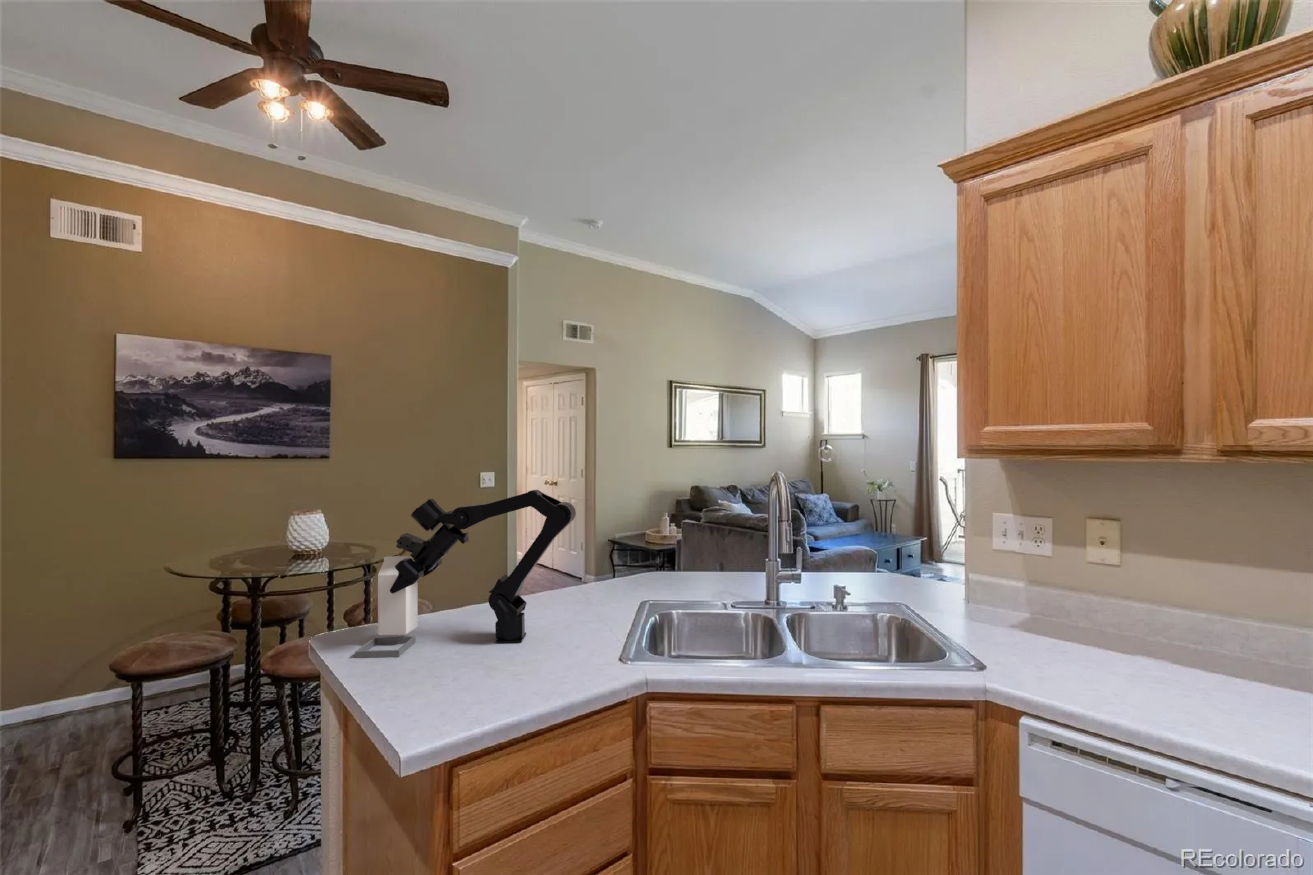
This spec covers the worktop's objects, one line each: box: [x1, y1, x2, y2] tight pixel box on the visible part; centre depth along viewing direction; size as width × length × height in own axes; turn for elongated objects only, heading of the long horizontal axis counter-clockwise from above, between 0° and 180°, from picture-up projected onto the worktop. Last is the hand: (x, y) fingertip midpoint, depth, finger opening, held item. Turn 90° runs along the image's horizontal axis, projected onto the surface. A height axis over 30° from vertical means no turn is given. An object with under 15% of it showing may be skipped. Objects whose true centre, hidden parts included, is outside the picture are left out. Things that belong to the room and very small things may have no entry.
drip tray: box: [354, 635, 417, 659], centre depth 141 cm, size 10×10×2 cm
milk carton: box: [377, 555, 419, 636], centre depth 148 cm, size 7×7×19 cm
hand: (397, 588), depth 148 cm, fingers closed on milk carton, 7 cm apart
